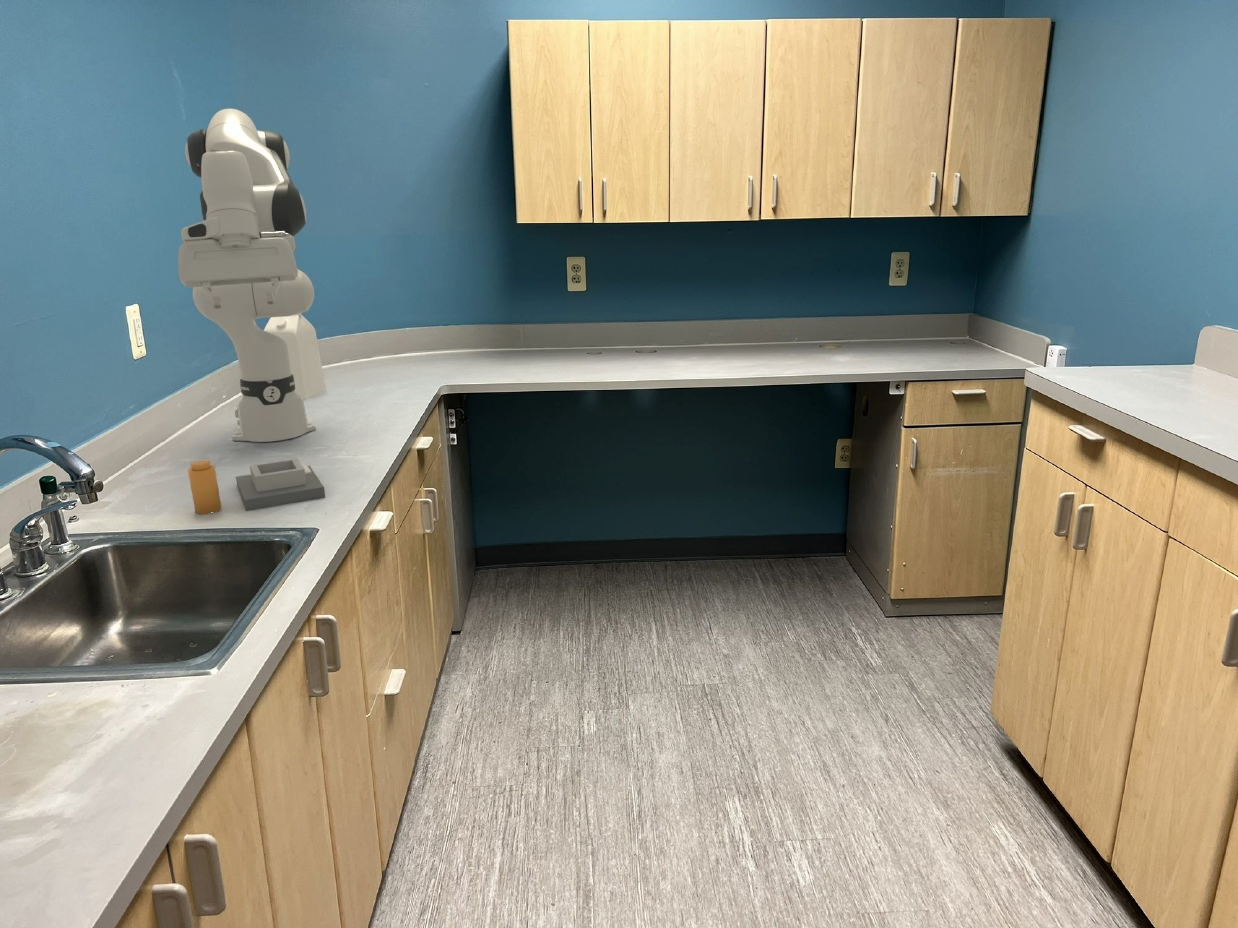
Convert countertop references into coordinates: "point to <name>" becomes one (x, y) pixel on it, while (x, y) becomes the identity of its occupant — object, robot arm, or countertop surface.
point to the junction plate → (278, 484)
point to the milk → (300, 353)
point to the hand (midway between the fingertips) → (244, 305)
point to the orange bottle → (204, 487)
